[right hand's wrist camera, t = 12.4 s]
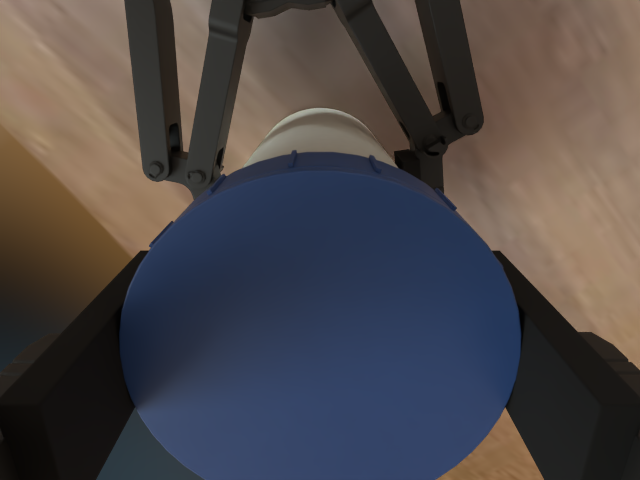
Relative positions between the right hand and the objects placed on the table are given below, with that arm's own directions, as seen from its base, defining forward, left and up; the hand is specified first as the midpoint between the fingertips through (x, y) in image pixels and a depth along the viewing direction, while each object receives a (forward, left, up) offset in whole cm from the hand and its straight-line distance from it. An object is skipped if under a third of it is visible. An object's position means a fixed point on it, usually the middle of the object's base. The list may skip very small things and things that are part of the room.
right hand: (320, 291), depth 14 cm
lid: (0, 0, +3) cm, 3 cm away
